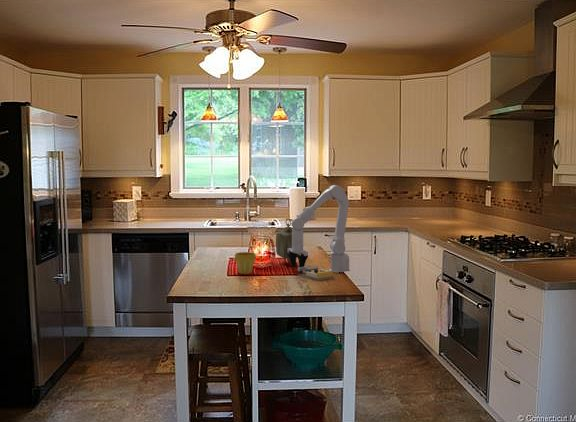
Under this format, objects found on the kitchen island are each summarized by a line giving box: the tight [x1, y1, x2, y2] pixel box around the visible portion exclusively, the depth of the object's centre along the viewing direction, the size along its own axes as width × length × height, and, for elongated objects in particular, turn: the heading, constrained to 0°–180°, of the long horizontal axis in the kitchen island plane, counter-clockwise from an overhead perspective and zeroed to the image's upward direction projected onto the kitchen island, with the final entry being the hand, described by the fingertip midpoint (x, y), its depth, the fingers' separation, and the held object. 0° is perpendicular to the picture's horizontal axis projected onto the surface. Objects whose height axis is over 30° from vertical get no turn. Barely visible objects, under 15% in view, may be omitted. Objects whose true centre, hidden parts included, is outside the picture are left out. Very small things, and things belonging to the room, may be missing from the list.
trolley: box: [297, 265, 319, 274], centre depth 267 cm, size 6×9×4 cm
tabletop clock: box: [275, 218, 301, 266], centre depth 296 cm, size 14×9×25 cm, turn 22°
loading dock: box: [297, 269, 335, 281], centre depth 263 cm, size 10×16×4 cm, turn 37°
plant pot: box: [234, 251, 257, 275], centre depth 271 cm, size 10×10×10 cm
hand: (297, 267), depth 274 cm, fingers open, 6 cm apart
